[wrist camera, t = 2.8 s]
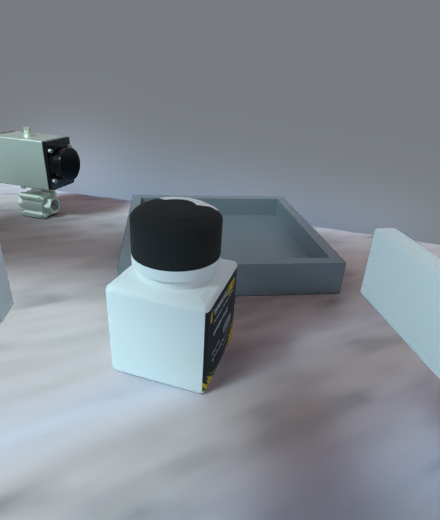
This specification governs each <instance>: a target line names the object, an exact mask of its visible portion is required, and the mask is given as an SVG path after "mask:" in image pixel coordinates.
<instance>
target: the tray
mask: <svg viewBox="0 0 440 520" xmlns="http://www.w3.org/2000/svg"><path fill="white" fill-rule="evenodd" d="M162 197H187V198H193V199H197V200H201V201H203V202H205V203H208V204H210V205H212V206H214V207H215V208H217V209H218V211H219V212H220V213H221V215H222V216H223V226H222V242H221V259H226V260H232V261H235V262H236V263H237V276H236V288H235V296H252V295H288V294H324V293H339V292H340V288H341V283H342V279H343V274H344V270H345V265H346V262H345V261H344V260H343V259H342V258H341V257H340V256H339V255H338V254H337V253H336V252H335V251H334V250H333V249H332V248H331V246H330V245H329V244H328V243H327V242H326V241H325V240H324V239H323V238H322V237H321V236H320V235H319V234H318V233H317V232H316V231H315V230H314V229H313V228H312V227H311V226H310V225H309V224H308V222H306V220H305V219H304V218H303V217H302V216H301V215H300V214H299V213H298V212H297V211H296V210H295V209H294V208H293V207H292V206H291V205H290V204H289V203H288V202H287V201H286V199H285V198H284V197H260V196H253V197H252V196H173V195H172V196H171V195H170V196H169V195H163V196H162V195H133V197H132V202H131V206H130V211H129V215H130V213H131V212H132V211H133V210H134V208H135V207H137V206H138V205H140V204H142V203H145V202H147V201H150V200H153V199H156V198H162ZM129 215H128V220H127V225H126V229H125V234H124V239H123V243H122V248H121V252H120V257H119V262H118V276H119V275H120V274H121V273H123V272H124V271H125V270H126V269H127V268H129V267H130V266H131V265H132V260H131V242H130V224H129Z"/></svg>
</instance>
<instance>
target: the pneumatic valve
mask: <svg viewBox="0 0 440 520" xmlns="http://www.w3.org/2000/svg"><path fill="white" fill-rule="evenodd" d="M23 129H24V132H18V131H10V132H4V133H0V183H5V184H12V185H19V186H21V188H22V189H25V188H26V187H28V188H32V189H31V190H30V191H27V192H21V193H19V199H18V203H19V205H20V207H21V208H22V209H24V210H22V214H23V215H24V216H30V217H36V218H42V219H45V218H47V217H48V216H49V215H51V214H54V213H55V214H56V213H57V212H59V209H60V201H59V199H58V198H57V197H55V196H56V195H57V193H56V192H55V191H54V190H56V189H58V188H61V187H63V186H66V185H68V184H71V183H73V182H74V179H75V178H76V177H77V175H78V173H79V169H80V159H79V156H78V154H77V152H76V151H75V150H74V149H73V148H71V145H70V143H69V137H64V136H55V135H46V134H36V133H32V129H31V127H24V128H23Z"/></svg>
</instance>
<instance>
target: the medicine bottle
mask: <svg viewBox="0 0 440 520" xmlns="http://www.w3.org/2000/svg"><path fill="white" fill-rule="evenodd" d="M129 224H130V242H131V260H132V265H131V266H130V267H129V268H127V269H126V270H125V271H124V272H123V273H121V274H120V275H119V276H118V277H117V278H115V279H114V280H113V281H112V282H111V283H110V284H108V285H107V286H106V300H107V311H108V322H109V333H110V344H111V355H112V366H113V368H114V369H115V370H117V371H121V372H124V373H128V374H131V375H135V376H138V377H142V378H146V379H149V380H153V381H156V382H160V383H163V384H167V385H170V386H174V387H178V388H181V389H185V390H188V391H192V392H195V393H199V394H202V393H204V392H205V391H206V389H207V387H208V385H209V382H210V380H211V378H212V376H213V374H214V372H215V370H216V368H217V365H218V363H219V361H220V359H221V357H222V355H223V353H224V351H225V348H226V346H227V344H228V342H229V340H230V338H231V336H232V325H233V312H234V300H235V288H236V276H237V263H236V262H235V261H232V260H226V259H221V242H222V226H223V216H222V215H221V213H220V212H219V211H218V209H217V208H215V207H214V206H212V205H210V204H208V203H205V202H203V201H201V200H197V199H193V198H187V197H162V198H156V199H153V200H150V201H147V202H145V203H142V204H140V205H138V206H137V207H135V208H134V210H133V211H132V212H131V213H130V215H129Z"/></svg>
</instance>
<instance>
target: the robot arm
mask: <svg viewBox="0 0 440 520" xmlns="http://www.w3.org/2000/svg"><path fill="white" fill-rule="evenodd" d="M360 292H361V293H362V295H363V296H364V297H365V298H366V299H367V300H368V301H369V302H370V303H371V304H372V305H373V307H374V308H375V309H376V310H377V311H378V312H379V313H380V314H381V315H382V316H383V318H384V319H385V320H386V321H387V322H388V323H389V324H390V325H391V326H392V327H393V329H394V330H395V331H396V332H397V333H398V334H399V335H400V336H401V337H402V338H403V340H404V341H405V342H406V343H407V344H408V345H409V346H410V347H411V348H412V349H413V350H414V352H415V353H416V354H417V355H418V356H419V357H420V358H421V359H422V360H423V361H424V363H425V364H426V365H427V366H428V367H429V368H430V369H431V370H432V371H433V372H434V374H435V375H436V376H437V377H438V378H439V379H440V258H439V257H437V256H436V255H434V254H433V253H431V252H430V251H428V250H427V249H425V248H424V247H422V246H421V245H419V244H418V243H416V242H415V241H413V240H412V239H410V238H409V237H407V236H406V235H404V234H402V233H401V232H400V231H398V230H397V229H395V228H375V232H374V236H373V240H372V245H371V249H370V253H369V257H368V262H367V266H366V270H365V274H364V279H363V283H362V287H361V291H360ZM13 304H14V303H13V299H12V294H11V290H10V285H9V280H8V276H7V271H6V267H5V262H4V258H3V253H2V249H1V244H0V324H1V323H2V321H3V319H4V318H5V316H6V315H7V313H8V312H9V310H10V309H11V307H12V305H13Z"/></svg>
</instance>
